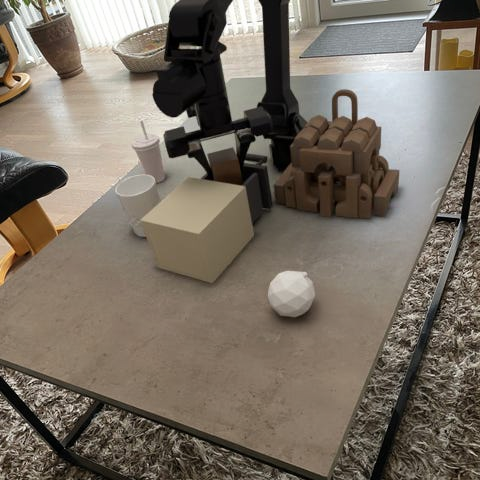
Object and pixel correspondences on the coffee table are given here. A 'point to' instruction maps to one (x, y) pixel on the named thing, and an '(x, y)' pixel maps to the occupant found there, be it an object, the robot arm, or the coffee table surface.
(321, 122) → the wooden puzzle
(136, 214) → the white cup
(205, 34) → the robot arm
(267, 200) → the drawer
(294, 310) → the ornament
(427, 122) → the coffee table surface
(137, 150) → the smoothie
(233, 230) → the cabinet
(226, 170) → the block
